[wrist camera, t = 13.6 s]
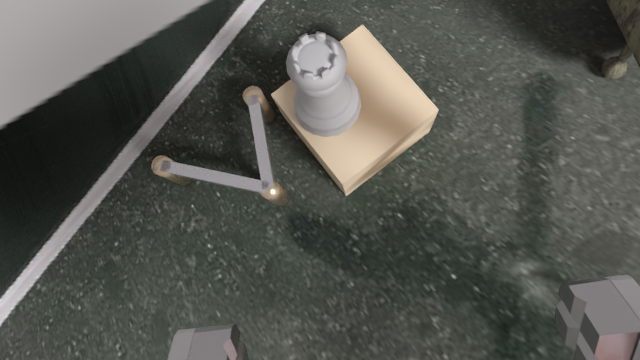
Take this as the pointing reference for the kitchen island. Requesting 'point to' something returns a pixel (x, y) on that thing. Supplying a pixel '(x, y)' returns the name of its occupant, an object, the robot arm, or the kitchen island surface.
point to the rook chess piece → (322, 85)
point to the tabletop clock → (636, 25)
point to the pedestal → (367, 115)
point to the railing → (266, 186)
